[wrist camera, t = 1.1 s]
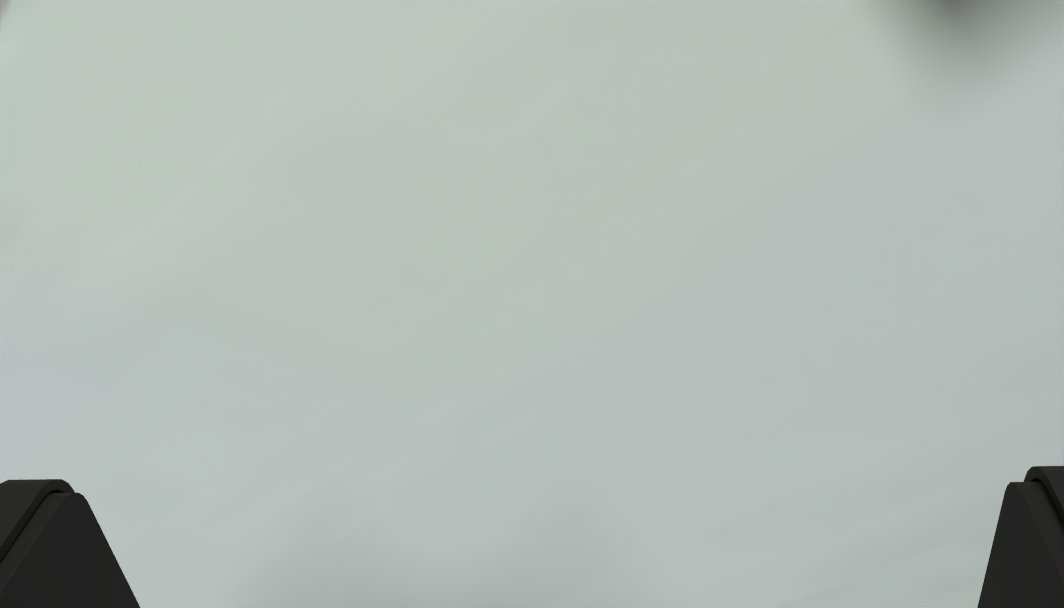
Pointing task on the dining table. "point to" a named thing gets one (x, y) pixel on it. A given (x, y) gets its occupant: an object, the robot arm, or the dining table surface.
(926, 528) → the dining table surface
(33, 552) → the robot arm
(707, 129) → the dining table surface
